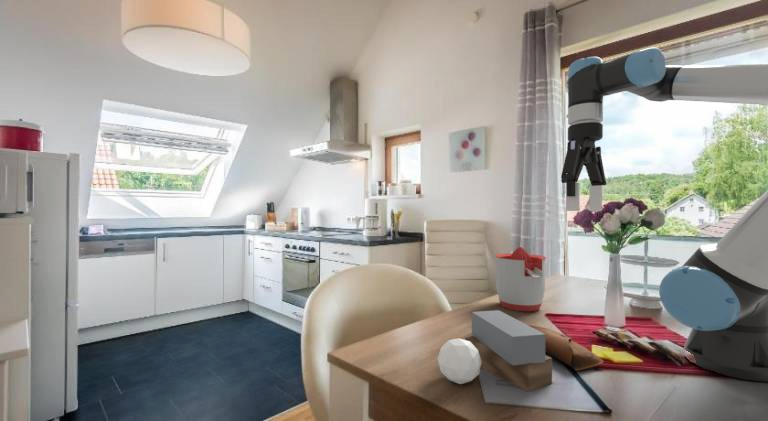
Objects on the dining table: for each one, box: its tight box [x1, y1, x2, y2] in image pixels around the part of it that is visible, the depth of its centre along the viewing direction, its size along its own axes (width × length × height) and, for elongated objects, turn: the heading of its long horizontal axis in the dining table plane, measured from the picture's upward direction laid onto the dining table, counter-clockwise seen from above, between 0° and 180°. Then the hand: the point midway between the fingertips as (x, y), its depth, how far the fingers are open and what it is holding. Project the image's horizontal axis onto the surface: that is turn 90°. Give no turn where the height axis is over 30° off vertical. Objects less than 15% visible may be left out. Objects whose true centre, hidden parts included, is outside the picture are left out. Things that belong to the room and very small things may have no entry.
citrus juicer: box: [495, 246, 547, 312], centre depth 118 cm, size 16×17×20 cm
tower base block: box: [464, 335, 553, 392], centre depth 72 cm, size 16×6×5 cm, turn 30°
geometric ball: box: [437, 337, 482, 385], centre depth 67 cm, size 8×8×8 cm
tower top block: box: [471, 310, 546, 365], centre depth 72 cm, size 16×6×5 cm, turn 12°
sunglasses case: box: [527, 324, 605, 372], centre depth 81 cm, size 18×7×7 cm
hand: (584, 211), depth 89 cm, fingers open, 13 cm apart
